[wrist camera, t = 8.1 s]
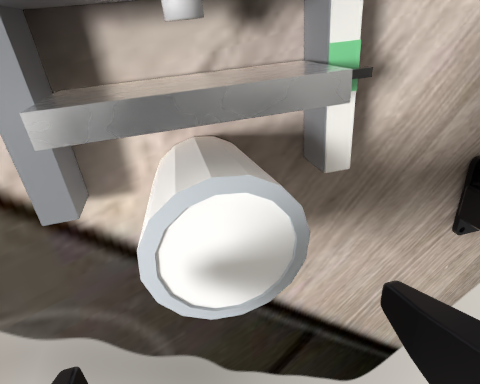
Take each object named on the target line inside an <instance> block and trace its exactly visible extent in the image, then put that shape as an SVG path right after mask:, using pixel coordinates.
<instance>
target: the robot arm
mask: <svg viewBox="0 0 480 384" xmlns="http://www.w3.org/2000/svg"><path fill="white" fill-rule="evenodd" d="M479 230H480V156H478V157H475V158H474V159H473V160H472V161H471V163H470V166H469V170H468V173H467V177H466V181H465V184H464V188H463V192H462V195H461V199H460V203H459V206H458V210H457V214H456V217H455V221H454V225H453V228H452V231H453V232H454V233H456V234H457V235H463V234H467V233H471V232H475V231H479ZM381 307H382V309H383V311H384V313H385V315H386V316H387V318H388V320H389V322H390V323H391V325H392V327H393V329H394V330H395V332H396V334H397V335H398V337H399V339H400V341H401V342H402V344H403V346H404V347H405V349H406V350H407V352H408V354H409V356H410V357H411V359H412V360H413V361H414V363H415V364H416V366H417V367H418V369H419V370H420V371H421V373H422V374H423V376H424V377H425V378H426V380H427V381H428V383H429V384H480V320H478V319H476V318H473V317H471V316H469V315H467V314H465V313H463V312H461V311H459V310H457V309H455V308H453V307H451V306H449V305H447V304H445V303H443V302H441V301H439V300H437V299H435V298H433V297H430V296H428V295H426V294H424V293H422V292H420V291H418V290H416V289H414V288H412V287H410V286H408V285H406V284H404V283H402V282H400V281H391V282H387V283H385V284H384V285H383V290H382V296H381ZM52 384H88V382H87V380H86V379H85V377H84V375H83V373H82V371H81V369H80V368H79V367H73V368H69V369H65V370H63V371H61V372H60V373H59V374H58V375H57V377H56V378H55V380H54V381H53V383H52Z"/></svg>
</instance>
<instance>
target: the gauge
mask: <svg viewBox="0 0 480 384" xmlns="http://www.w3.org/2000/svg"><path fill="white" fill-rule="evenodd" d="M121 1H133V0H0V135H1V137H2V139H3V141H4V143H5V145H6V148H7V150H8V152H9V154H10V156H11V159H12V161H13V163H14V165H15V167H16V169H17V172H18V174H19V176H20V178H21V180H22V182H23V185H24V187H25V189H26V191H27V193H28V196H29V198H30V200H31V202H32V204H33V206H34V209H35V211H36V213H37V215H38V217H39V220H40V222H41V224H42V226H45V225H50V224H55V223H60V222H66V221H71V220H76V219H79V218H80V215H81V213H82V211H83V208H84V206H85V203H86V201H87V198H88V196H89V195H88V192H87V189H86V186H85V183H84V181H83V178H82V175H81V172H80V169H79V167H78V164H77V161H76V158H75V155H74V153H73V150H72V147H71V146H65V147H58V148H52V149H45V150H39V151H35V150H34V147H33V145H32V142H31V140H30V138H29V135H28V133H27V130H26V128H25V126H24V123H23V121H22V118H21V116H20V114H19V113H21V112H22V111H24V110H26V109H28V108H29V107H31V106H33V105H35V104H36V103H38V102H40V101H42V100H43V99H45V98H47V97H49V96H50V95H52V91H51V88H50V85H49V83H48V80H47V77H46V74H45V71H44V69H43V66H42V63H41V60H40V57H39V55H38V52H37V49H36V46H35V43H34V41H33V38H32V35H31V32H30V29H29V26H28V24H27V21H26V18H25V15H24V12H23V9H35V8H48V7H60V6H72V5H84V4H97V3H109V2H121ZM161 2H162V8H163V13H164V19H165V21H178V20H188V19H197V18H203V17H204V13H203V5H202V0H161ZM362 10H363V0H304V61H309V62H315V63H321V64H326V65H332V66H338V67H344V68H350V69H352V68H359V61H360V49H361V40H360V35H361V22H362ZM357 86H358V79H352V85H351V99H350V103H346V104H340V105H333V106H327V107H320V108H314V109H307V110H304V158H306V159H307V160H308V161H309V162H311V163H312V164H313V165H314V166H315V167H317V168H318V169H319V170H320V171H322V172H325V173H330V172H335V171H340V170H345V169H350V159H351V147H352V134H353V122H354V109H355V97H356V91H357Z"/></svg>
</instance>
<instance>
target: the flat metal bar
mask: <svg viewBox="0 0 480 384" xmlns="http://www.w3.org/2000/svg"><path fill="white" fill-rule="evenodd" d="M372 70H373V67H368V66H367V67H359V68H352V69H350V68H344V67H338V66H332V65H326V64H321V63H315V62H309V61H303V60H302V61H294V62H286V63H278V64H270V65H262V66H253V67H245V68H237V69H229V70H221V71H213V72H205V73H197V74H189V75H181V76H173V77H165V78H157V79H149V80H141V81H133V82H125V83H117V84H108V85H100V86H92V87H84V88H76V89H68V90H60V91H57V92H55V93H54V94H52V95H50V96H49V97H47V98H45V99H43V100H42V101H40V102H38V103H36V104H35V105H33V106H31V107H29V108H28V109H26V110H24V111H22V112H21V113H19V114H20V116H21V118H22V121H23V123H24V126H25V128H26V130H27V133H28V135H29V138H30V140H31V142H32V145H33V147H34V150H35V151H39V150H45V149H52V148H58V147H65V146H71V145H78V144H84V143H91V142H98V141H104V140H111V139H117V138H124V137H130V136H137V135H143V134H150V133H157V132H163V131H170V130H176V129H183V128H189V127H196V126H202V125H209V124H215V123H222V122H229V121H235V120H242V119H248V118H255V117H261V116H268V115H274V114H281V113H287V112H294V111H301V110H307V109H314V108H320V107H327V106H333V105H340V104H346V103H350V99H351V85H352V79H359V78H366V77H372Z"/></svg>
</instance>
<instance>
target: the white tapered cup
mask: <svg viewBox="0 0 480 384" xmlns="http://www.w3.org/2000/svg"><path fill="white" fill-rule="evenodd" d="M309 237H310V230H309V226H308V223H307V220H306V217H305V213H304V210H303V207H302V206H301V205H300V204H299V203H298V202H297V201H296V200H295V199H294V198H293V197H292V196H291V195H290V194H289V193H288V192H287V191H286V190H285V189H284V188H283V187H282V186H281V185H280V184H279V183H278V182H276V181H275V180H274V179H273V178H272V177H271V176H270V175H268V174H267V173H266V172H265V171H264V170H263V169H261V168H260V167H259V166H258V165H257V164H256V163H254V162H253V161H252V160H251V159H250V158H249V157H248V156H246V155H245V154H244V153H243V152H242V151H241V150H239V149H238V148H237V147H236V146H235V145H234V144H232V143H231V142H228V141H225V140H223V139H220V138H217V137H215V136H202V137H192V138H190V139H187V140H185V141H183V142H181V143H178V144H176V145H174V146H173V147H172V148H171V150H170V151H169V152H168V153H167V154H166V155H165V156H164V157H163V158H162V159H161V161H160V164H159V166H158V169H157V172H156V174H155V177H154V182H153V186H152V190H151V194H150V198H149V203H148V207H147V211H146V215H145V219H144V224H143V228H142V232H141V236H140V240H139V245H138V249H137V256H138V263H139V271H140V278H141V281H142V282H143V284H144V285H145V286H146V288H147V289H148V290H149V292H150V293H151V294H152V296H153V297H154V299H155V300H156V301H157V302H158V303H159V304H161V305H163V306H165V307H167V308H169V309H171V310H173V311H175V312H176V313H178V314H180V315H182V316H189V317H196V318H204V319H211V320H213V319H219V318H225V317H231V316H237V315H242V314H244V313H246V312H249V311H251V310H253V309H255V308H257V307H259V306H261V305H264V304H266V303H268V302H270V301H271V300H272V299H273V298H274V297H275V296H277V295H278V294H279V293H280V292H281V291H282V290H283V289H285V288H286V287H287V286H288V285H289V284H290V283H291V282H292V281H293V279H294V277H295V276H296V274H297V273H298V271H299V269H300V268H301V266H302V264H303V263H304V261H305V259H306V255H307V249H308V243H309Z"/></svg>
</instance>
